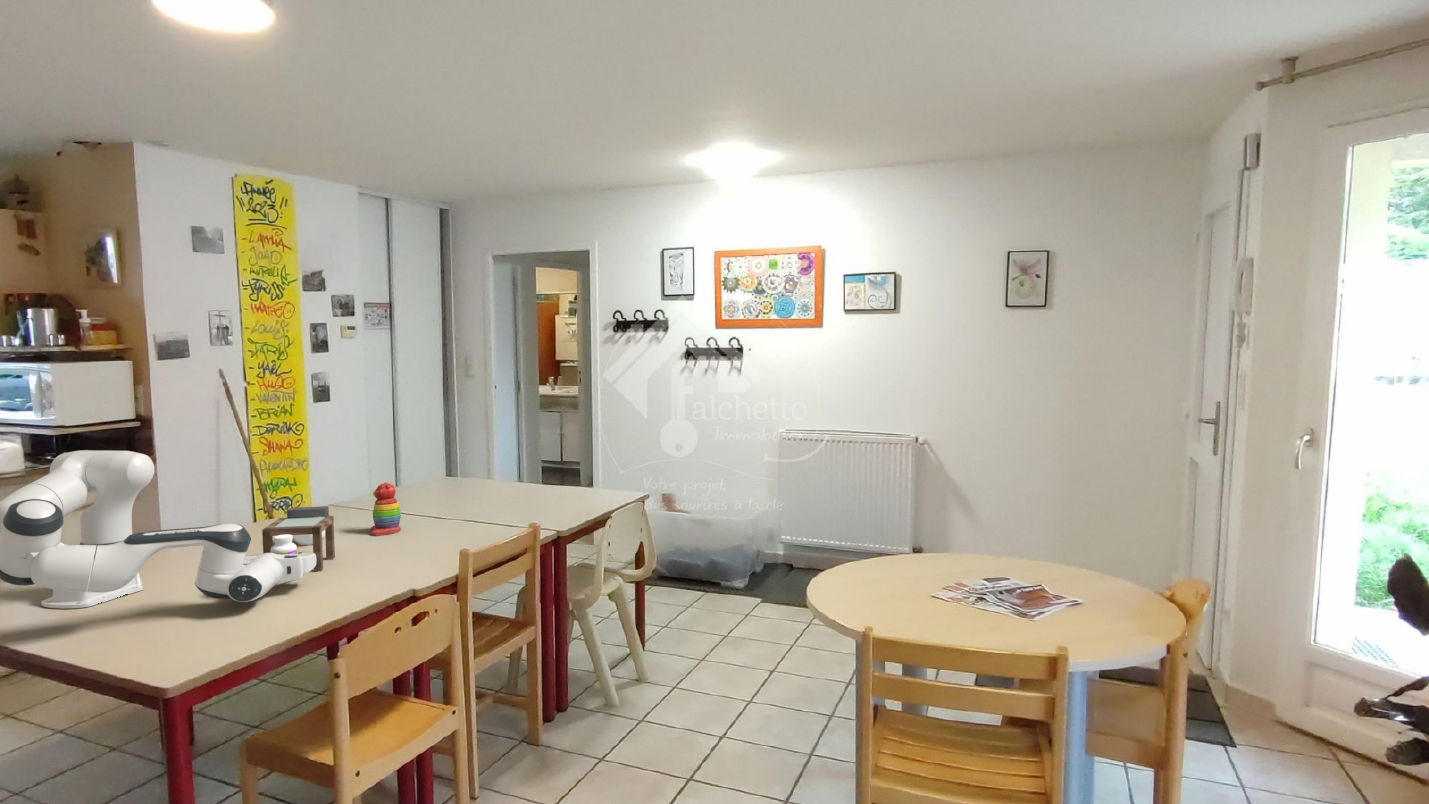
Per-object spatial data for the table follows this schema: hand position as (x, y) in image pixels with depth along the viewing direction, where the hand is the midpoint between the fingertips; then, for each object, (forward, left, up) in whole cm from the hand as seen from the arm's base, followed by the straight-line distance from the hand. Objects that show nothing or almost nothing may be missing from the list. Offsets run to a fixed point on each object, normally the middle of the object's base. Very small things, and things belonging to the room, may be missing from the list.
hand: (284, 555), depth 221 cm
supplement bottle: (0, 0, -7) cm, 7 cm away
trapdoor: (+16, +5, +3) cm, 17 cm away
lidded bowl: (+38, +18, -7) cm, 42 cm away
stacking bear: (+55, 0, -7) cm, 55 cm away
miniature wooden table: (+13, +4, -7) cm, 15 cm away
